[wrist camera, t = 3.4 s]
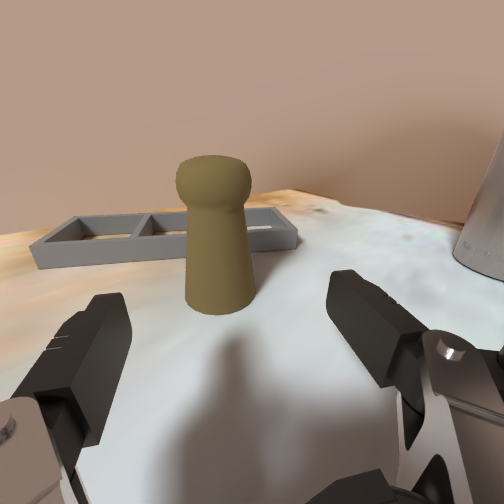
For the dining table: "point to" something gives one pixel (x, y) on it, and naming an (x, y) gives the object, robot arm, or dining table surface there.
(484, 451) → the robot arm
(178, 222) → the frame
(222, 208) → the cork
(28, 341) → the dining table surface
